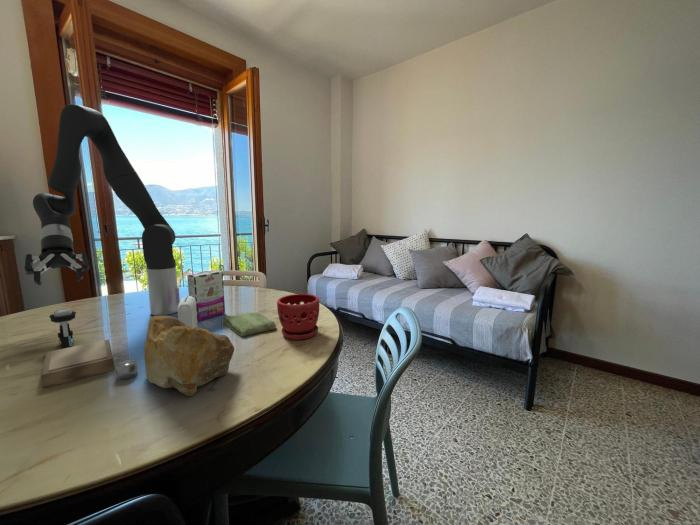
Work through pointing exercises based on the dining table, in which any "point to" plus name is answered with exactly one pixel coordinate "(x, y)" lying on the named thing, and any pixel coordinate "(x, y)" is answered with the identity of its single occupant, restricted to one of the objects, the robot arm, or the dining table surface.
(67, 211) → the robot arm
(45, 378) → the tray
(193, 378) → the rough brown rock
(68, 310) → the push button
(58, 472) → the dining table surface
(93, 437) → the dining table surface
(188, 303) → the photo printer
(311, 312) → the plant pot
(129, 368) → the cylinder
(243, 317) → the washcloth
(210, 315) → the candy bar box
